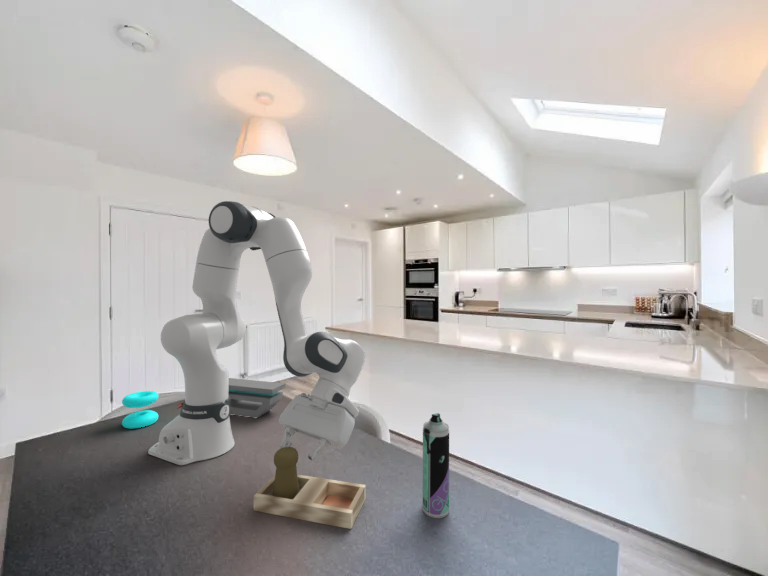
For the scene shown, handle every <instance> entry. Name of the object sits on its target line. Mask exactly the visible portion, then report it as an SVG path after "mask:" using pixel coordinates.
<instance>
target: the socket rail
mask: <svg viewBox="0 0 768 576" xmlns="http://www.w3.org/2000/svg"><path fill="white" fill-rule="evenodd" d="M297 477H298V484H299V493H298V494H297V495H296V496H295V498H294V499H287V498H281V497H276V496H273V489H274V481H275V475H274V476H273V477H272V478H270V480H269V481H267V482H266V483H265V484H264V485H263V486H262V487H261V488H260V489H259V490H258V491H257V492H256V493H255V494H254V495H253V512H254V511H255V512H260V513H266V514H270V515H275V516H276V515H277V516H282V517H285V518H286V517H287V518H291V519H292V518H293V519H298V520H301V521H308V522H313V523H318V524H322V525H328V526H334V527H339V528H343V529H350V530H352V528H353V526H354V525H355V522H356V521H357V517H358V515H359V513H360V512H361V510H362V507H363V505H364V503H365V502H366V498H367V492H366V491H367V490H366V489H367V484H363V483H362V484H361V483H354V482H348V481H343V480H336V479H330V478H324V477H323V478H322V477H315V476H311V475H304V474H298V473H297Z"/></svg>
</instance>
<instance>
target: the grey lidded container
mask: <svg viewBox="0 0 768 576" xmlns="http://www.w3.org/2000/svg"><path fill="white" fill-rule="evenodd" d="M284 389H286V383H284V382H274V381H265V380H264V381H263V380H253V379H243V378H234V377H233V378H232V377H229V396H230V413H229V414H235V415H242V416H250V417H258V418H259V416H260V415H261V416H263V415H265V414H266V413H265V412H267V411H268V412H270V411H271V410H272V409H273V408H274V407H275V406H276V405H277V404H278V403H279V402H280V401H281V400H282V399H283V397H284V395H283V393H284V392H283V391H281V390H284ZM270 409H271V410H270ZM269 410H270V411H269ZM268 412H267V413H268ZM264 413H265V414H264ZM262 414H263V415H262ZM261 416H260V417H261Z"/></svg>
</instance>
